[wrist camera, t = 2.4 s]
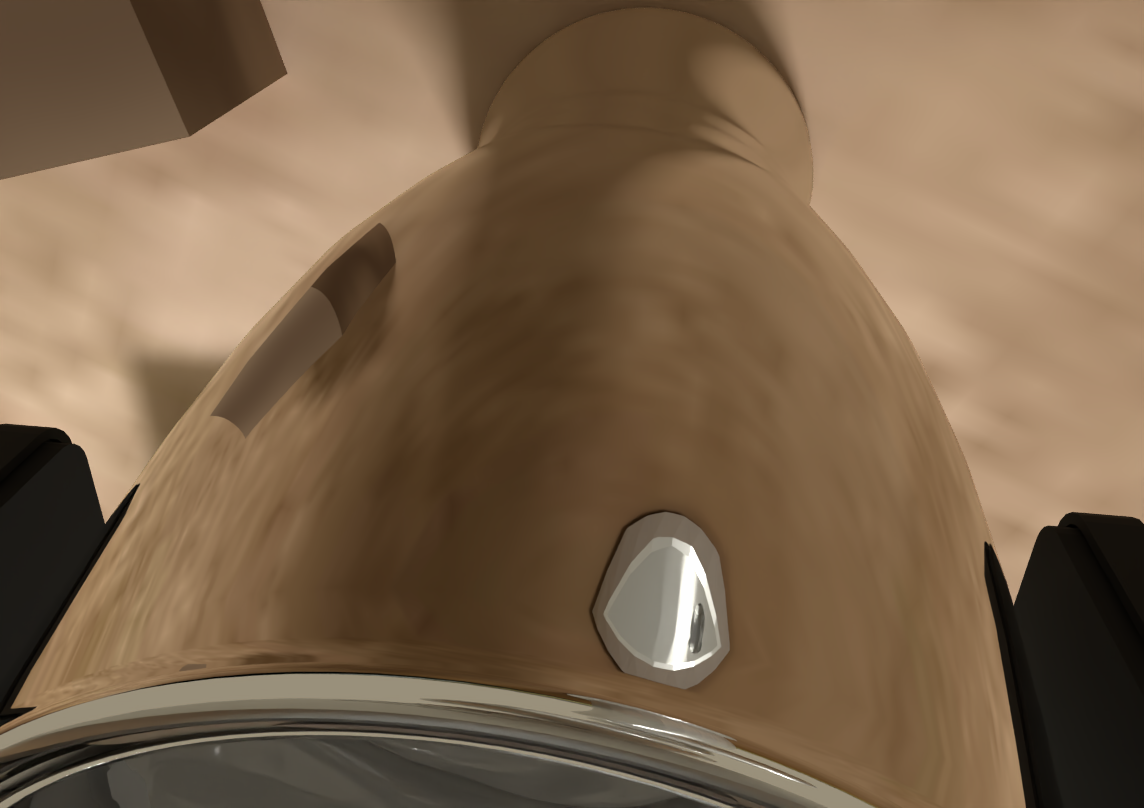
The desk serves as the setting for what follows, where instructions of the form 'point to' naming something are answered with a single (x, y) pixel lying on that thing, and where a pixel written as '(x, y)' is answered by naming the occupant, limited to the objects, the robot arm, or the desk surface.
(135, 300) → the desk surface
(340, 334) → the beer glass
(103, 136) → the walnut block
